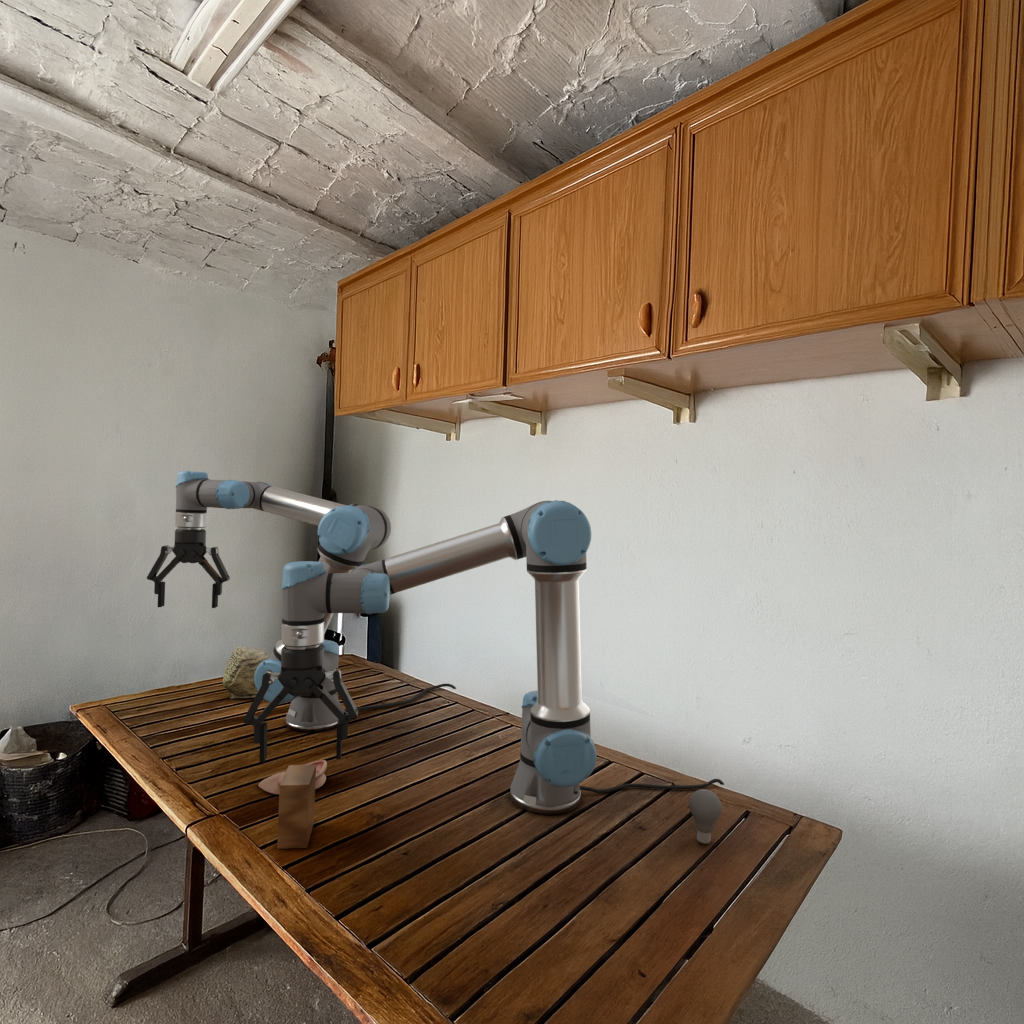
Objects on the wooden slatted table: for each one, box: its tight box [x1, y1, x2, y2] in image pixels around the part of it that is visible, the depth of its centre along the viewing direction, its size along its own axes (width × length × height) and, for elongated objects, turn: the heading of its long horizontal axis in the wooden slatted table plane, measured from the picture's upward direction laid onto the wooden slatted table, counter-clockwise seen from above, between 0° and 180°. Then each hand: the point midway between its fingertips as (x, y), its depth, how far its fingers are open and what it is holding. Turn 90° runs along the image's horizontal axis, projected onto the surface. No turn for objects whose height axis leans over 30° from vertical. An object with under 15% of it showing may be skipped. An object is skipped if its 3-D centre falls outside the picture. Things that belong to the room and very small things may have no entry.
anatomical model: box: [257, 759, 328, 795], centre depth 139 cm, size 13×4×12 cm
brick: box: [277, 764, 316, 850], centre depth 118 cm, size 5×9×12 cm, turn 9°
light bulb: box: [688, 788, 723, 844], centre depth 122 cm, size 6×6×10 cm
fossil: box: [222, 646, 270, 699], centre depth 198 cm, size 9×18×15 cm, turn 132°
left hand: (188, 607), depth 171 cm, fingers open, 13 cm apart
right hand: (301, 758), depth 118 cm, fingers open, 13 cm apart
